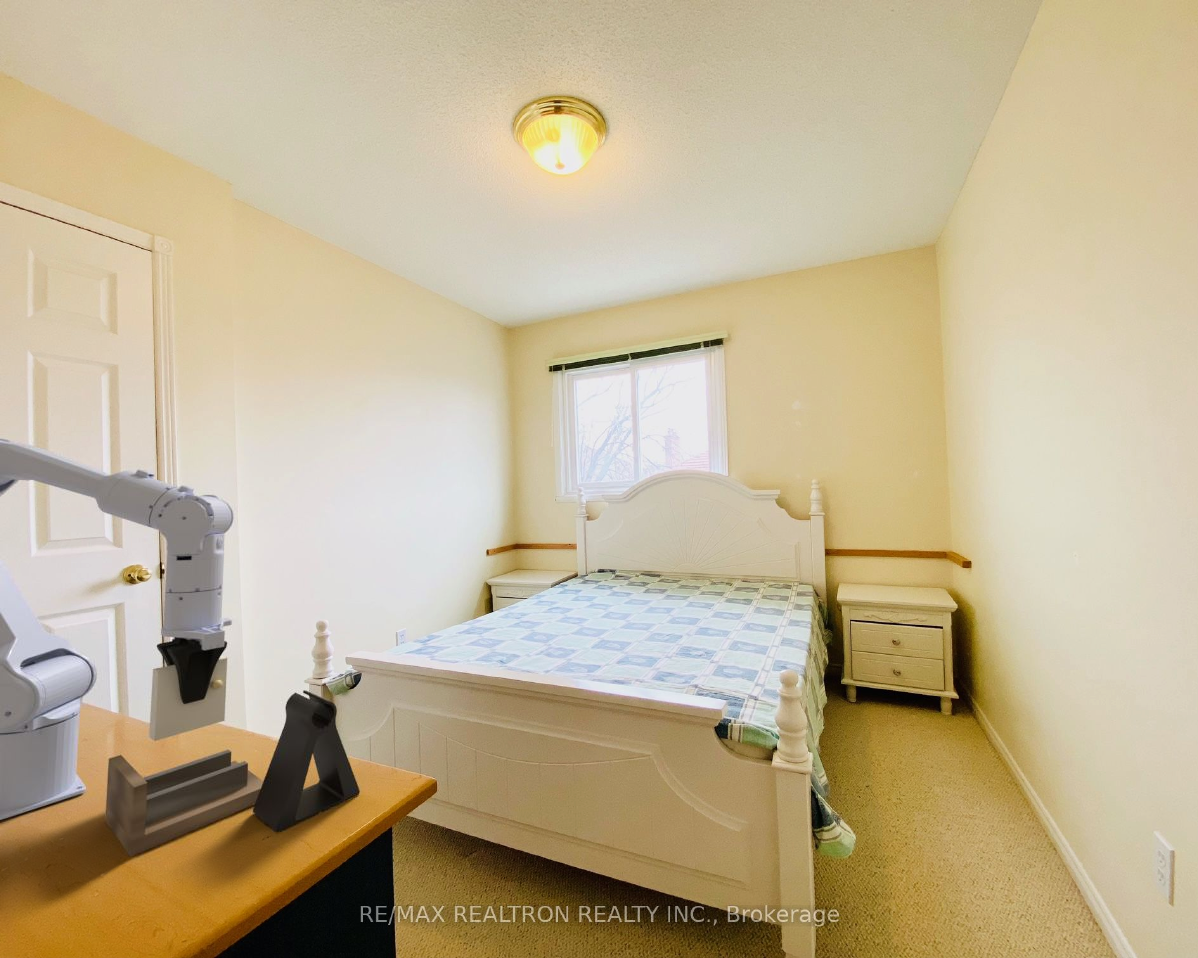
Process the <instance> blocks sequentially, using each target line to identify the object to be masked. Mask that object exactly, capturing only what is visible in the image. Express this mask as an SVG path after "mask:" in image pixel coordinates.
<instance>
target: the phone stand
mask: <svg viewBox="0 0 1198 958" xmlns="http://www.w3.org/2000/svg"><path fill="white" fill-rule="evenodd" d="M302 693H303V694H304V695H307V696H308V697H306V696H303V695H301V694H300V693H297V692H294V693H292V694H291V696H290V697H289V698H287V701H286V704H285V722H284V725H283V729H282V730H281V733H280V736H279V738H278V741H277V744H276V746H275V748H274V749H275V750H274V752H273V754H272V758H271V759H270V762H269V766H268V768H267V771H266V774H265V776H264V779H263V784H262V787H261V789H260V792H259V795H258V797H257V800H256V803H255V804H254V805H253V809H252V812H253V814H255V816H257V817H258V818H259V819H260V820H261V821H263V822H264V824H266V825H267V826H268V827H269V828H270V829H272V830H273V831H274V832H275V833H276V834H279V833H282V832H284V831H286V830H288V829H291V828H292V827H294V826H295V827H296V826H297V825H299V824H301V823H303V822H305V821H307V820H310V819H312V818H314V817H316V816H318V815H319V814H320V812H321V813H325V812H326V811H328V810H331V809H332V808H335V807H337V806H340V805H341V804H343V803H346V802H347V801H350V800H351V798H352V799H354V798H356V797H358V796H359V795H360V792H361V790H360V787H359V785H358V783H357V780H356V776H355V774H354V771H353V769H352V766H351V763H350V761H349V758H348V756H347V752H346V750H345V748H344V745H343V741H342V739H341V736H340V734H339V731H338V729H337V723H336V720H337V718H336V717H337V714H338V713H337V712H338V709H337V706H336V704H335V703H334V702H333V701H330V700H328V699H326V698H324V697H321V696H319V695H317V694H314V693H313V692H311V691H308V690H305V689H304V690H303V691H302ZM312 757H313V760H314V763H315V767H316V771H317V774H318V779H319V780H318V782H317V783H315V784H312V785H310V786H308V787H306V788H304V787H305V783H306V779H307V775H308V774H309V773H308V772H309V768H310V765H311V761H312ZM357 795H358V796H357ZM355 796H356V797H355ZM353 797H354V798H353ZM349 799H350V800H349Z"/></svg>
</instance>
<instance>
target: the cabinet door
mask: <svg viewBox="0 0 1198 958" xmlns="http://www.w3.org/2000/svg"><path fill="white" fill-rule="evenodd" d="M227 670H228V657H227V656H225V655H224V656H223V654H222V655H221V656H220V658H219V660H218V662H217V664H216V666H215V668H214V671H213V674H212V677H211V680H210V684H209V687H208V690H207V693H206V696H205V699H203V700H199V701H195V702H192V703H188V704H184V703H183V702H182V699H181V696H180V689H179V680H178V674H177V670H176V667H175V665H171V666H167V665H166V666H161V667H157V668H153V669H152V680H151V697H150V698H151V701H150V713H149V714H150V715H149V716H150V718H149V736H148V737H149V738H150V739H152V740H153V742H156V741H159V740H163V739H166V738H170V737H173V736H177V735H180V734H184V733H187V732H190V731H195V730H197V729H201V728H204V727H208V726H212V725H215V724H218V723H221V722H225V718H226V698H227V697H226V696H227V695H226V694H227V673H228V671H227Z"/></svg>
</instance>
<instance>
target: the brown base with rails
mask: <svg viewBox="0 0 1198 958" xmlns="http://www.w3.org/2000/svg"><path fill="white" fill-rule="evenodd" d="M106 780H107V781H106V782H107V784H106V799H105V802H106V803H105V822H106V823H107V825H108V827H109V828H110V829H111V831H112V832H113V834H114V835H115V836H116V838H117V840H118V841H119V842H120V844H121V845H122V847H123V849H124V850H125V851H126V853H127V855H129V857H130V858H131V857H134V856H136V855H139V854H140V853H143V852H146V851H148V850H150V849H153V848H155V847H157V846H160V845H162V844H164V843H167V842H168V841H172V840H174V839H176V838H179V837H180V836H183V835H185V834H188V833H190V832H193V831H196V830H197V829H200V828H202V827H205V826H207V825H209V824H212V823H214V822H216V821H219V820H221V819H223V818H226V817H228V816H231V815H234V814H235V813H237V812H241V811H242V810H244V809H247V808H249V807H252V806H254V805H255V803H256V800H257V797H258V795H259V792H260V789H261V787H262V784H263V781H264V779H261V778H259V777H258V776H257V775H256V774H254V773H253V772H252V771H251V770H249V763H248V762H247V761H245V760H244V761H240V762H237V761H236V760H234V761H232V750H230V749H226V750H223V751H219V752H216V753H214V754H210V755H207V756H205V757H201V758H199V759H196V760H192V761H190V762H186V763H184V764H180V765H178V766H174V767H171V768H168V769H166V770H162V771H160V772H157V773H152V774H150V775H147V776H144V777H142V775H140V773H139V772H138V771H137V770H136V769H135V767H133V766H132V765H131V764H130V762H128V761H127V760H126V758H125V757H123V755H122V754H120V755H117V756H114V757H113V756H112V757H110V758H109V757H108V764H107V779H106Z"/></svg>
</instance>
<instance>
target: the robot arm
mask: <svg viewBox="0 0 1198 958" xmlns="http://www.w3.org/2000/svg"><path fill="white" fill-rule="evenodd" d="M155 475H156V474H155V472H151V471H148V470H145V469H137V470H136V471H134V470H133V471H132V470H124V471H119V472H116V473H113V474H110V473H107V472H105V471H104V472H103V471H102V470H100V469H97V468H94V467H91V466H88V465H86V464H83V463H81V462H77V461H76V460H73V459H71V458H67V457H65V456H62V455H60V454H57V453H54V452H52V451H49V450H46V449H44V448H41V447H38V446H35V445H31V444H25V443H20V442H19V443H18V442H16V441H15V442H14V441H13V440H9V439H5V438H0V497H2V496H3V495H4V494H5V493H6V492H7V491H9V490H10V488H12V487H13V486H15V484H17V483H18V482H19V481H33V482H38V483H41V484H45V485H48V486H52V487H55V488H59V489H63V490H66V491H69V492H72V493H73V492H74V493H77V494H80V495H83V496H87V497H91V498H92V499H95V501H96V503H97V504H96V505H97V506H98V508H99V510H100V511H102V512H103V513H105V514H107V515H111V516H113V517H114V516H115V517H117V518H119V519H120V518H121V519H122V520H123V519H124V520H127V521H130V522H133V523H136V524H138V525H141V526H144V527H147V528H151V529H153V530H157V531H159V532H160V534H162V536H164V538H165V540H166V565H165V567H166V569H165V589H164V590H165V592H164V607H163V609H164V610H163V612H164V613H163V626H162V627H161V629H160V630H161V631H160V633H161V634H160V635H161V636H162V637H165V638H166V637H168V638H171V641H165V642H160V643H158V644H156V648H157V650H158V652H159V654H161V657H162V658H163V660H164V662H165V664H166V666H171V665H175V667H176V670H177V674H178V680H179V689H180V696H181V699H182V702H183V703H184V704H188V703H192V702H195V701H199V700H203V699H205V696H206V693H207V690H208V687H209V684H210V680H211V677H212V674H213V671H214V668H215V666H216V664H217V662H218V660H219V658H220V656H221V655H222V656H223V653H224V651H225V650H226V649H227V647H228V641H226V640H225V638H226V637H225V636H226V631H225V630H224V629H223V628H224V627H227V626H228V627H229V626H231V625H233V619H231V618H225V617H224V618H222V611H223V590H224V589H223V588H224V587H223V585H224V564H225V563H224V561H225V534H226V533H227V532H228V531H229V530H230V528H231V527H232V525H233V522H234V510H233V508H232V507H231V506H230V504H228V502H226V501H225V500H223V499H221V498H219V497H218V495H215V494H203V495H196V494H195V493H194V489H195V488H193V487H191V486H188V485H180V486H177V485H173V484H170V483H169V482H168V483H167V482H165V481H162V480H158V479H156V478H155ZM97 675H98V672H97V667H96V665H95V663H94V661H92V660H91V658H89V657H88V656H86V655H85V654H83V653H82V652H81V653H80V652H79V651H78V650H77V649H75V647H74V646H73V645H72V643H71V641H70V640H69V639H67V638H65V637H62V636H59V635H57V634H54V633H51V632H48V631H46V630H45V629H44V627H43V626H42V624H41V622H40V621H39V619H38V617H37V615H36V614H35V612H34V611H33V609H32V608H31V606H30V605H29V603H28V601H27V599H26V597H25V596H24V595H23V593H22V591H21V590H20V588H19V586H18V585H17V583H16V581H15V580H14V578H13V576H12V575H11V573H10V572H9V570H8V569H7V567H6V565H5V564H4V562H3V560H2V558H1V557H0V821H2V820H4V819H8V818H11V817H14V816H17V815H20V814H23V813H26V812H29V811H32V810H35V809H38V808H41V807H44V806H47V805H50V804H53V803H57V802H60V801H63V800H65V799H69V798H71V797H75V796H78V795H81V794H83V793H85V792H86V791H87V787H86V786H85V784H84V783H83V781H82V779H81V778H80V777H79V775H78V774H77V767H78V766H77V765H78V764H77V763H78V747H79V730H80V729H79V728H80V715H81V714H80V712H81V711H80V710H81V707H82V706H83V697H85V696H86V695H87V694H89V692H90V691H91V690H92V689H93V687H94V686H95V684H96V682H97V678H98V677H97Z"/></svg>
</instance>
